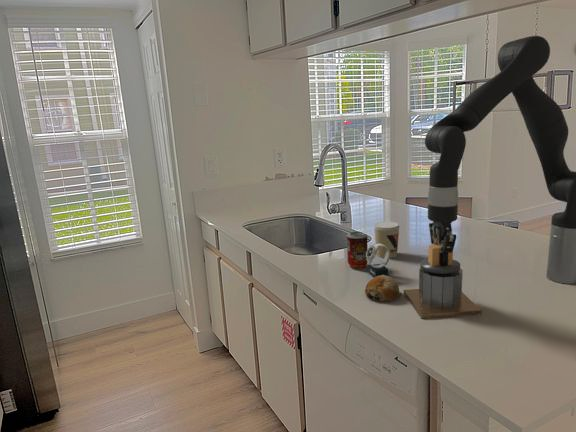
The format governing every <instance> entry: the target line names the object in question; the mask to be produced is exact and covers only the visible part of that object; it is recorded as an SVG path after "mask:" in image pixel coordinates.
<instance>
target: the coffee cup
mask: <svg viewBox="0 0 576 432" xmlns="http://www.w3.org/2000/svg"><path fill="white" fill-rule="evenodd" d="M373 229H374V244H378V243H379V244H383V245H385V246H386V247H387V248H388V249H389V250H390V255H391V256H390V259H393V258H396V257H397V256H398V248H399V247H398V246H399V234H400V225H399V223H398V222H395V221H378V222H376V223H374V226H373ZM386 252H387V250H386V248H385V247H383V246H380V247H379V248H378V250H377V254H376V257H379V258H382V259H384V258H385V255H386Z"/></svg>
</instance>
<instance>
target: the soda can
mask: <svg viewBox="0 0 576 432" xmlns="http://www.w3.org/2000/svg"><path fill="white" fill-rule="evenodd" d="M346 236H347V237H346V240H347V241H346V246H347V249H346V250H347V264H348V265H349V268H351V269H354V270H362V269H365V268H367V267H366V266H367V264H368V262H367V259H366V252H367V250H368V235H367V233H365V232H363V231H352V232H349V233H348V234H347V235H346Z"/></svg>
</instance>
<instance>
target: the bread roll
mask: <svg viewBox="0 0 576 432" xmlns="http://www.w3.org/2000/svg"><path fill="white" fill-rule="evenodd" d="M364 293H365V296H366V297H367V298H369V300H372V301H374V302H380V303H381V302H382V303H384V302H385V303H386V302H392V301H394V300H397V299H398V298H399V297H400V287H399V285H398V284H397V282H396V280H395V279H394V278H392V277H390V276H389V275H388V276H385V275H380V276H376V277H374V278H373V277H372V278H371V279H370V280H369V281H368V282H367V283H366V285H365V290H364Z"/></svg>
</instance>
